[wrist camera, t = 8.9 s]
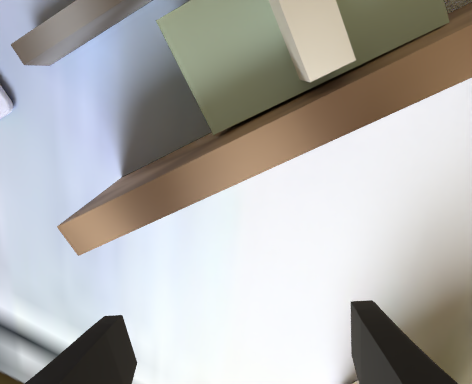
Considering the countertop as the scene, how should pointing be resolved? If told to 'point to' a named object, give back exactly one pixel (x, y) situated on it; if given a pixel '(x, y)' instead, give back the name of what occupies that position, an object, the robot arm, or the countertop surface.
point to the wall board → (254, 128)
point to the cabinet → (282, 46)
